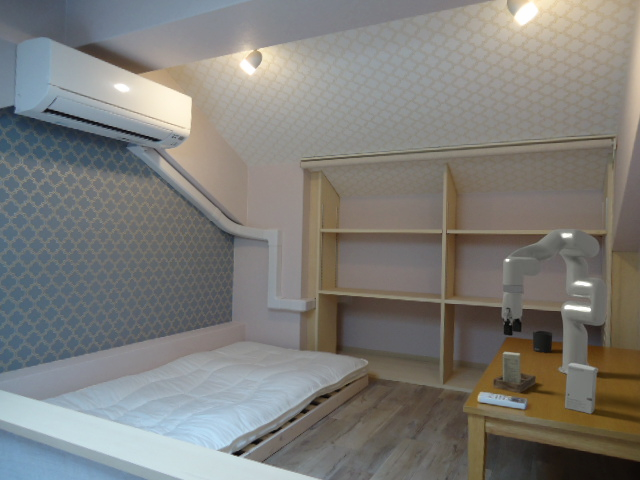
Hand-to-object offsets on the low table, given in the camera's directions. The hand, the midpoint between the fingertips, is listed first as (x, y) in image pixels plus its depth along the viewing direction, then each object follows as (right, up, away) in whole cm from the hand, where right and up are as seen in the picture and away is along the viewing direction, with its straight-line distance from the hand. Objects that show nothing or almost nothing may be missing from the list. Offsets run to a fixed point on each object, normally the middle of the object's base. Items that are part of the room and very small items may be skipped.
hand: (512, 333), depth 183 cm
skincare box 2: (+13, -21, -23) cm, 34 cm away
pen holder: (+44, -23, +68) cm, 84 cm away
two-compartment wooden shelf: (+2, -21, +3) cm, 21 cm away
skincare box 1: (-1, -20, 0) cm, 20 cm away
